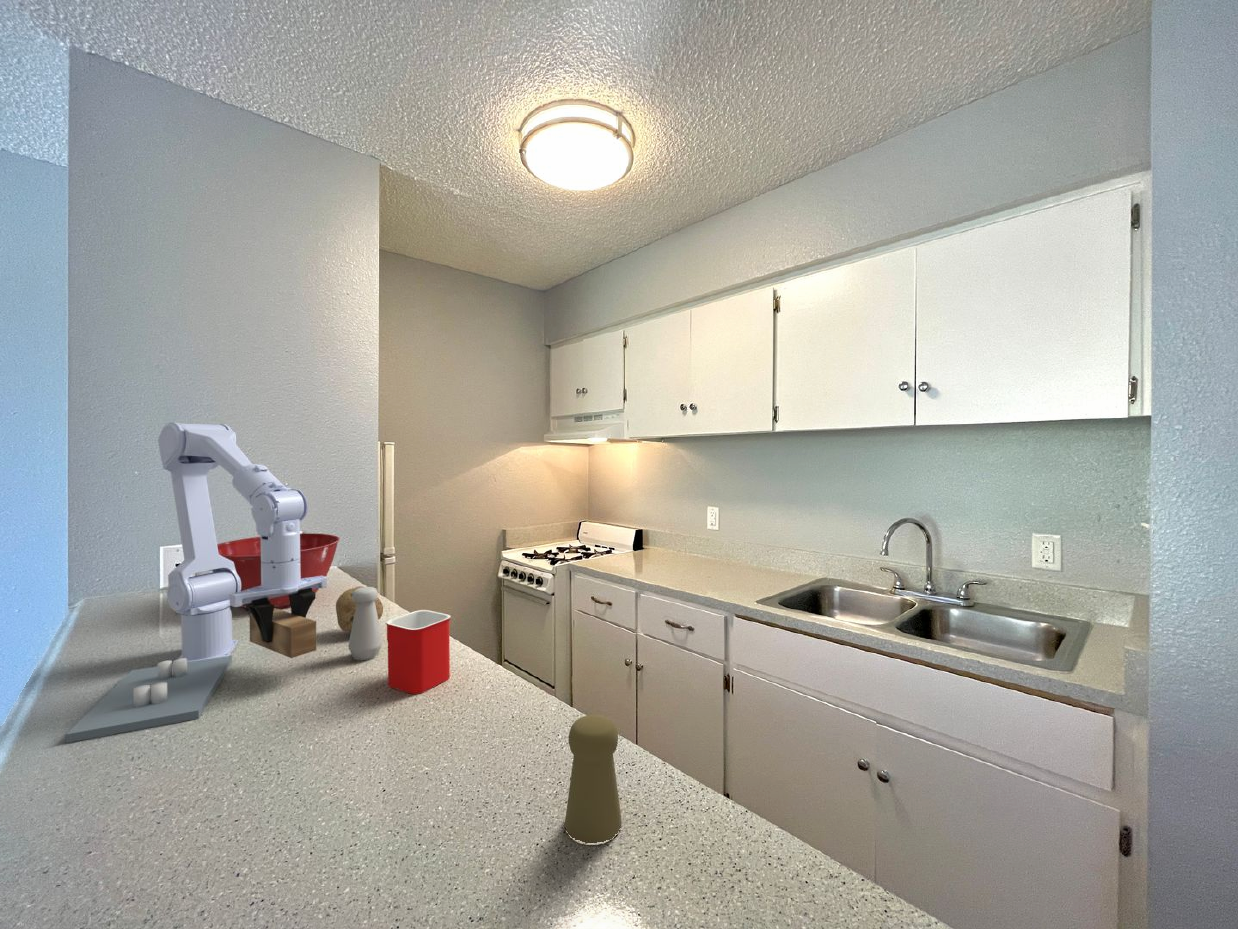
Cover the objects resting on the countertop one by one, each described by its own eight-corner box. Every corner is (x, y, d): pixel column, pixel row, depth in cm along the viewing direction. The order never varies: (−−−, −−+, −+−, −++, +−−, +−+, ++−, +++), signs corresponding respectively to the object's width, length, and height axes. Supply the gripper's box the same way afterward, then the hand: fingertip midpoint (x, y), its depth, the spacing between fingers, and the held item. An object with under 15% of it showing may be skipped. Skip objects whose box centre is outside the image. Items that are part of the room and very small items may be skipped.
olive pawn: (565, 805, 57) (565, 708, 56) (619, 802, 57) (619, 705, 57) (563, 848, 51) (563, 739, 50) (624, 844, 51) (624, 736, 51)
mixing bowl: (296, 621, 117) (295, 554, 116) (172, 620, 117) (171, 553, 117) (360, 587, 145) (359, 533, 144) (261, 587, 145) (259, 533, 145)
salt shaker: (368, 664, 94) (367, 593, 93) (341, 661, 95) (340, 591, 94) (389, 651, 99) (388, 585, 99) (363, 649, 101) (362, 583, 100)
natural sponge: (385, 624, 115) (385, 580, 114) (380, 638, 106) (380, 590, 106) (340, 628, 112) (339, 583, 112) (331, 643, 104) (330, 594, 103)
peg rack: (131, 677, 88) (131, 656, 88) (232, 662, 94) (231, 642, 94) (66, 743, 68) (65, 716, 68) (198, 718, 75) (198, 693, 75)
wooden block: (249, 641, 91) (249, 613, 91) (274, 634, 95) (274, 607, 94) (291, 658, 84) (291, 628, 84) (316, 650, 87) (316, 621, 87)
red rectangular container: (455, 677, 89) (455, 616, 88) (416, 697, 81) (415, 631, 81) (408, 662, 94) (408, 605, 94) (367, 680, 87) (366, 618, 87)
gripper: (242, 571, 81) (243, 656, 81) (335, 555, 93) (336, 629, 93) (223, 565, 84) (225, 646, 85) (315, 550, 97) (316, 622, 97)
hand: (282, 637), depth 89 cm, fingers closed on wooden block, 4 cm apart
